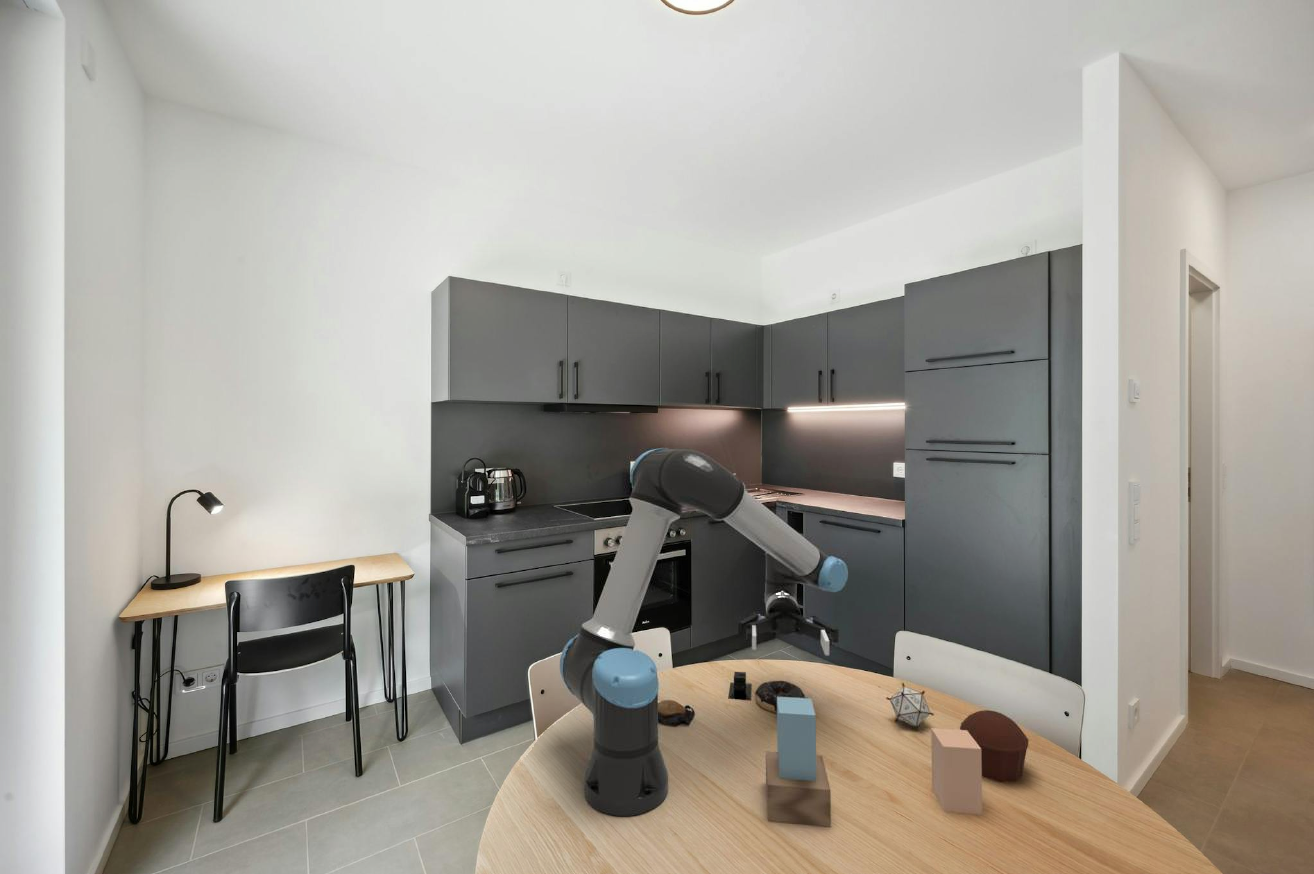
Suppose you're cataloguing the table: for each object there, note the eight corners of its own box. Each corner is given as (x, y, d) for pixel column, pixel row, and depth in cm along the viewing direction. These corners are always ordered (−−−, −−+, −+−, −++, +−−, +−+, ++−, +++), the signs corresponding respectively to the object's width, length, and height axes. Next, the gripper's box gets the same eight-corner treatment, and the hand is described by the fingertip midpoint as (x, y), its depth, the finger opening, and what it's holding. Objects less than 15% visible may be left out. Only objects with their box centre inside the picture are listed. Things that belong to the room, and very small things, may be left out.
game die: (919, 741, 123) (950, 710, 121) (898, 738, 119) (929, 706, 116) (892, 705, 131) (920, 676, 128) (871, 701, 126) (900, 671, 124)
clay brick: (943, 811, 95) (943, 746, 95) (931, 789, 101) (931, 728, 101) (981, 814, 94) (981, 749, 94) (967, 792, 100) (967, 730, 100)
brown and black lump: (642, 725, 125) (642, 709, 125) (652, 707, 133) (652, 692, 133) (689, 731, 122) (689, 714, 122) (696, 712, 131) (696, 696, 131)
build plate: (753, 706, 134) (753, 686, 134) (723, 704, 135) (722, 684, 135) (754, 683, 146) (754, 665, 146) (726, 681, 147) (726, 663, 147)
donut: (774, 689, 142) (774, 673, 141) (815, 706, 133) (815, 689, 133) (746, 703, 134) (746, 687, 134) (788, 722, 125) (787, 704, 125)
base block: (768, 820, 93) (767, 784, 93) (766, 783, 103) (765, 751, 103) (830, 826, 91) (830, 789, 91) (822, 788, 101) (822, 755, 101)
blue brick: (779, 778, 95) (778, 712, 95) (777, 758, 101) (776, 696, 101) (816, 781, 94) (815, 715, 94) (811, 760, 100) (811, 698, 100)
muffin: (964, 745, 115) (964, 696, 115) (1029, 762, 109) (1029, 711, 109) (956, 774, 105) (956, 720, 105) (1027, 795, 99) (1026, 738, 99)
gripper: (728, 593, 130) (724, 621, 109) (840, 599, 126) (858, 630, 105) (727, 625, 130) (724, 660, 109) (839, 633, 126) (858, 670, 105)
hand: (790, 645), depth 107 cm, fingers open, 13 cm apart
